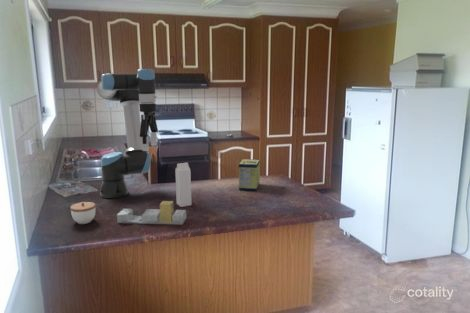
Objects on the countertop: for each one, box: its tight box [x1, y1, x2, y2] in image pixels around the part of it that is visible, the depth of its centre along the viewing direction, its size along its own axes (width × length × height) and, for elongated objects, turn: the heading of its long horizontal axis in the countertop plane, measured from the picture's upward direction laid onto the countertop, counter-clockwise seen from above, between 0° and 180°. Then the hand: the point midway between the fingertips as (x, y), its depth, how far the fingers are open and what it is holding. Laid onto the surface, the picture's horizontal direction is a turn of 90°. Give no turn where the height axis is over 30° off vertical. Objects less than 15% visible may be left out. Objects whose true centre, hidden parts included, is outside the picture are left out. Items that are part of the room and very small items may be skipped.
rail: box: [116, 208, 187, 225], centre depth 175 cm, size 30×8×4 cm, turn 86°
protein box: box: [238, 158, 261, 192], centre depth 226 cm, size 10×16×16 cm
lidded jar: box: [69, 201, 97, 225], centre depth 174 cm, size 11×11×9 cm
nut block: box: [159, 200, 175, 221], centre depth 174 cm, size 5×5×8 cm
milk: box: [174, 162, 193, 208], centre depth 195 cm, size 6×6×22 cm
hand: (150, 148), depth 181 cm, fingers open, 13 cm apart
